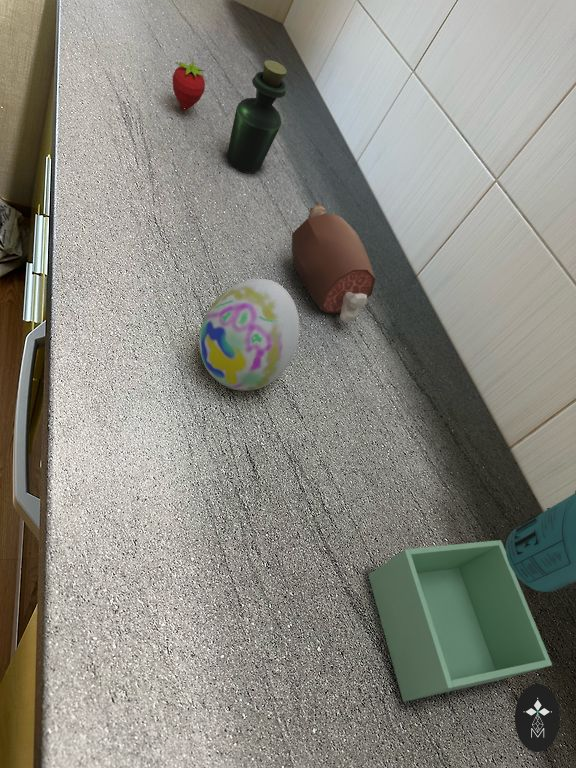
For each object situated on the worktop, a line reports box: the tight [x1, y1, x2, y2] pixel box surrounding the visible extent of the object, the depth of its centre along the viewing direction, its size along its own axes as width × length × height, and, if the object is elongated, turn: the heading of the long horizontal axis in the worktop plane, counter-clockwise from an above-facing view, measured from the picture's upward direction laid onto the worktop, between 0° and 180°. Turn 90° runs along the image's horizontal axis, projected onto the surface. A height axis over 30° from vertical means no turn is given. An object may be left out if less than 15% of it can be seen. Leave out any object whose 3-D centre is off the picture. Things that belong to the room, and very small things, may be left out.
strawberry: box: [171, 56, 206, 112], centre depth 105 cm, size 6×8×10 cm
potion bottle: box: [226, 59, 288, 174], centre depth 99 cm, size 8×8×18 cm
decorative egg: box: [198, 278, 300, 392], centre depth 72 cm, size 12×12×15 cm
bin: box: [367, 539, 553, 703], centre depth 62 cm, size 13×13×8 cm
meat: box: [291, 204, 376, 324], centre depth 89 cm, size 20×12×10 cm, turn 21°
